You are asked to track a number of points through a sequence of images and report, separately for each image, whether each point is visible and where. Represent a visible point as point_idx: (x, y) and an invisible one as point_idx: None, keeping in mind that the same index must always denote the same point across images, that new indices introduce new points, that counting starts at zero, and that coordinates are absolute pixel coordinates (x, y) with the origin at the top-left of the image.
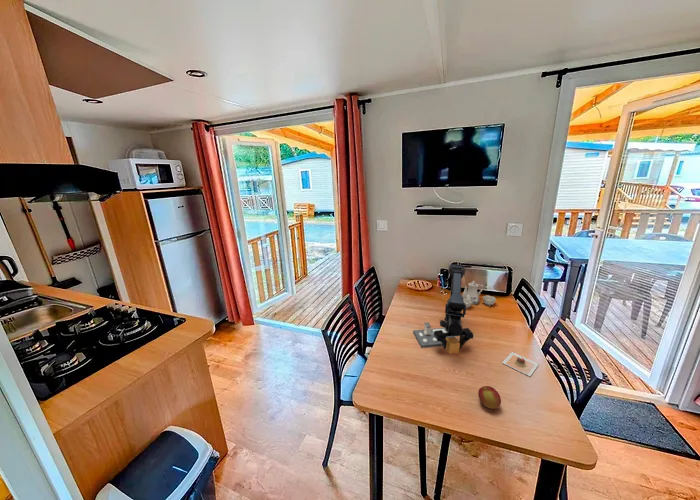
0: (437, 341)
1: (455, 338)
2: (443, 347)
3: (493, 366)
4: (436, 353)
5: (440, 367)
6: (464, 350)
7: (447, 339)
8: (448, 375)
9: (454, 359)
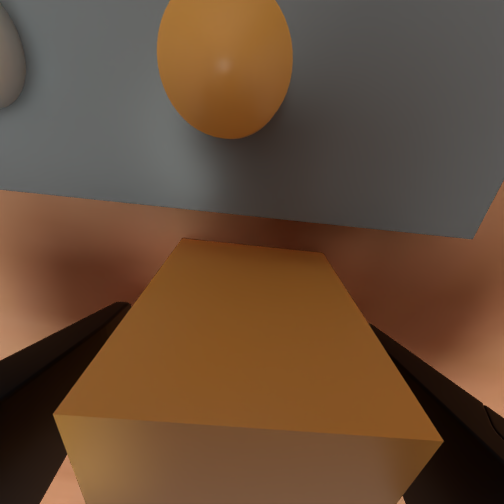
0: (30, 100)
1: (388, 479)
2: (102, 311)
3: None
4: (22, 310)
5: None
6: (391, 335)
7: (83, 471)
8: (78, 495)
9: None
